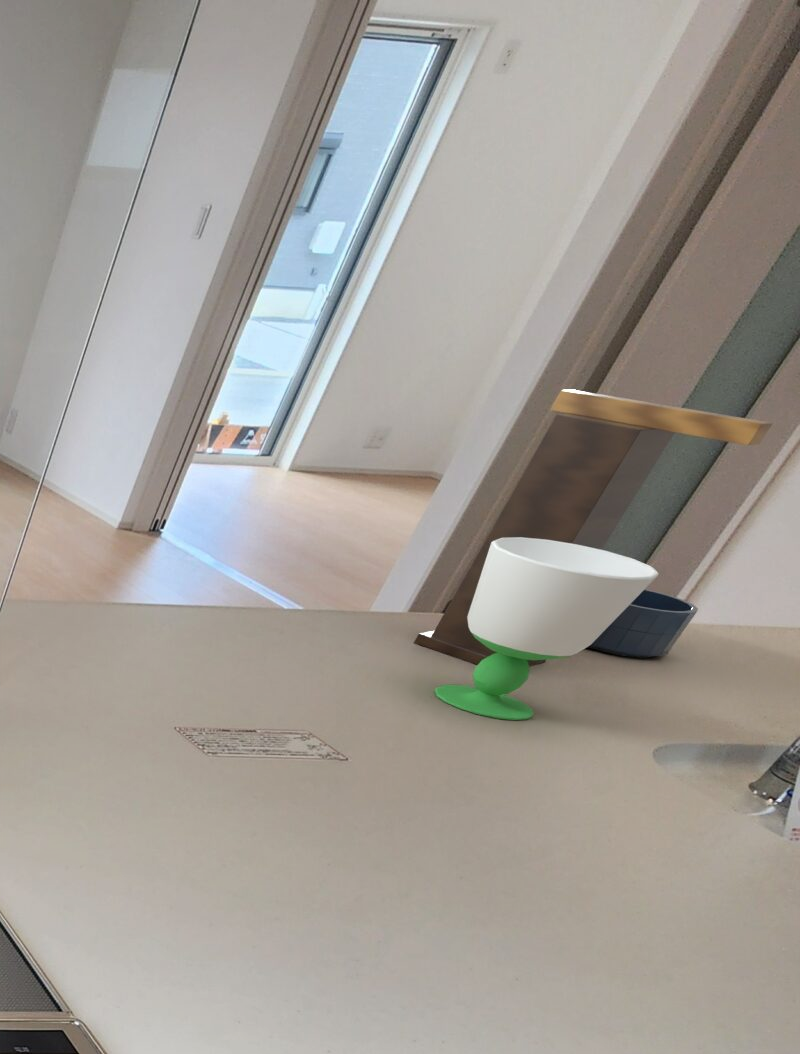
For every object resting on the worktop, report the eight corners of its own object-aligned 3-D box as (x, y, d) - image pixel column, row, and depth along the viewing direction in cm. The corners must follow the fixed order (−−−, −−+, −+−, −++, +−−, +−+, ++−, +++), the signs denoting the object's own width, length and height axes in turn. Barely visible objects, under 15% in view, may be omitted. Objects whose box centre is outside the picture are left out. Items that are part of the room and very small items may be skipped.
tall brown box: (545, 662, 132) (694, 428, 117) (499, 672, 128) (647, 432, 113) (459, 634, 139) (589, 410, 124) (413, 642, 136) (541, 412, 120)
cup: (581, 739, 113) (687, 586, 104) (432, 715, 116) (521, 564, 107) (529, 691, 124) (621, 548, 114) (393, 670, 127) (472, 529, 117)
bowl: (682, 654, 138) (715, 607, 134) (637, 665, 133) (670, 616, 130) (582, 624, 146) (611, 579, 142) (536, 633, 141) (565, 587, 138)
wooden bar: (759, 444, 110) (773, 422, 109) (747, 445, 110) (762, 423, 108) (561, 409, 123) (572, 389, 122) (549, 410, 122) (560, 390, 121)
